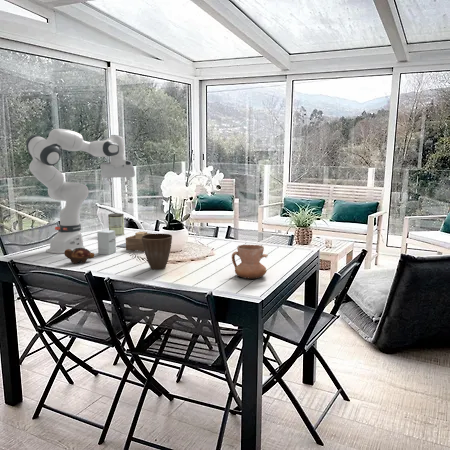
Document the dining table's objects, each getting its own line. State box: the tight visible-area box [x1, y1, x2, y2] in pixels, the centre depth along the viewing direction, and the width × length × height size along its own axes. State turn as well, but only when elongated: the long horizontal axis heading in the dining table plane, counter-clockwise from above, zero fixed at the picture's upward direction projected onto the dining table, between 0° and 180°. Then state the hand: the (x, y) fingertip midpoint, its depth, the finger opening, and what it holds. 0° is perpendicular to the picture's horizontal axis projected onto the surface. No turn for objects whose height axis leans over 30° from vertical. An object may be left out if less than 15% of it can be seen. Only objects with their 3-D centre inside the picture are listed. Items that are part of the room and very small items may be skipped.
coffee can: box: [107, 212, 125, 237], centre depth 309 cm, size 10×10×14 cm
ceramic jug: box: [231, 244, 269, 280], centre depth 208 cm, size 18×14×14 cm
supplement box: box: [96, 229, 117, 256], centre depth 255 cm, size 7×7×13 cm
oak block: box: [134, 231, 148, 239], centre depth 269 cm, size 5×5×6 cm
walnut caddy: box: [125, 232, 153, 252], centre depth 269 cm, size 18×14×7 cm
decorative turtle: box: [63, 247, 95, 265], centre depth 234 cm, size 10×15×8 cm, turn 130°
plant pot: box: [142, 233, 173, 271], centre depth 223 cm, size 15×15×16 cm
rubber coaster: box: [116, 242, 126, 249], centre depth 274 cm, size 9×9×1 cm
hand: (118, 184), depth 278 cm, fingers open, 8 cm apart
